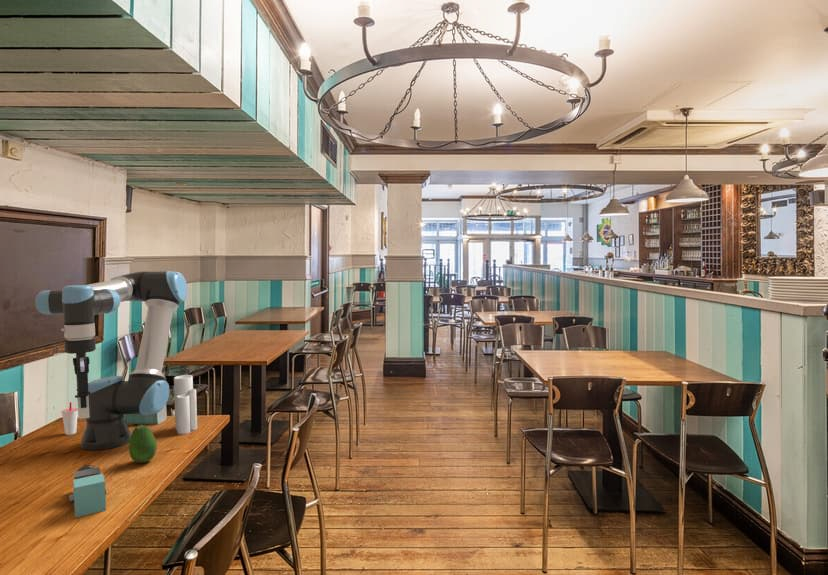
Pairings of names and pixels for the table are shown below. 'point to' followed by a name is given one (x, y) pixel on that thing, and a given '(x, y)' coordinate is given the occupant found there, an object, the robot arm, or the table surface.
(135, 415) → the box
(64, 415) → the cup
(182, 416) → the vase
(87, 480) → the socket
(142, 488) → the table surface
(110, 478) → the table surface
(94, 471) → the guide
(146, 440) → the fruit
